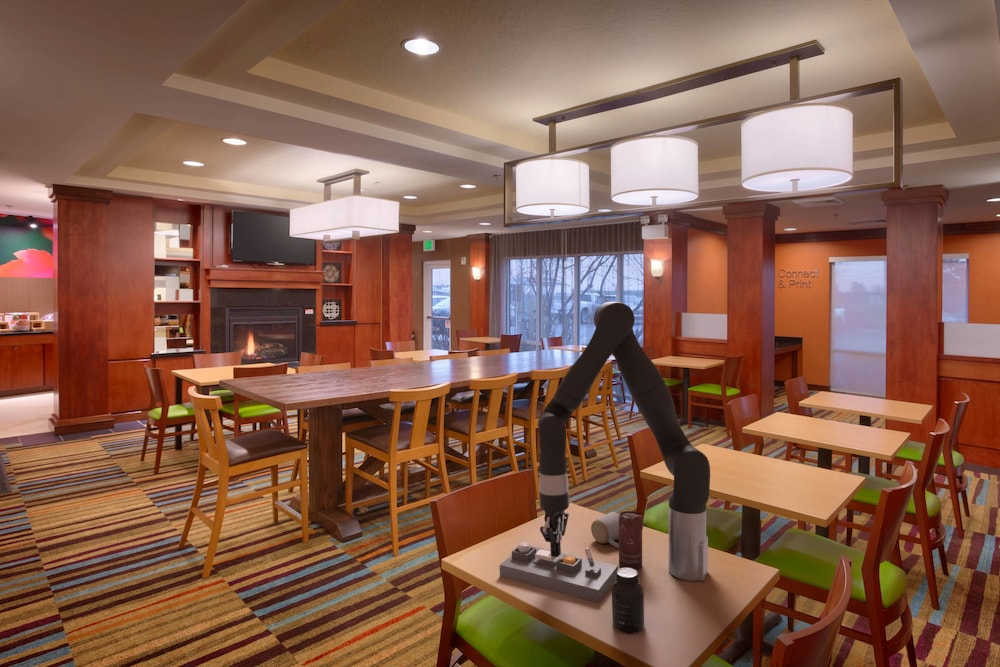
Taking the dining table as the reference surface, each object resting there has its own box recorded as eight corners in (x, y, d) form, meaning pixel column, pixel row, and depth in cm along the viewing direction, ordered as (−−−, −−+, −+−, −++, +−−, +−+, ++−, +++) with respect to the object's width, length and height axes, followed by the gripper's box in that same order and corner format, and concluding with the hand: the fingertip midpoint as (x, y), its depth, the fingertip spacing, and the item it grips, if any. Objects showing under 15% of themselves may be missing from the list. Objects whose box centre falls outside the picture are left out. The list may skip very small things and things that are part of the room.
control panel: (617, 577, 144) (617, 558, 144) (598, 602, 132) (598, 581, 132) (525, 555, 158) (524, 537, 157) (499, 575, 146) (499, 557, 145)
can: (643, 571, 147) (643, 519, 146) (619, 569, 148) (618, 517, 147) (642, 561, 153) (642, 511, 152) (618, 559, 154) (618, 509, 153)
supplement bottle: (621, 613, 127) (620, 561, 126) (649, 624, 123) (649, 570, 122) (606, 627, 122) (606, 573, 121) (635, 638, 117) (635, 582, 117)
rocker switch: (557, 556, 147) (556, 552, 146) (551, 561, 144) (551, 557, 144) (540, 552, 149) (540, 548, 149) (535, 557, 146) (535, 553, 146)
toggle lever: (595, 565, 140) (589, 546, 141) (594, 567, 139) (587, 548, 140) (591, 566, 141) (585, 547, 141) (589, 568, 140) (583, 549, 140)
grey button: (532, 550, 150) (532, 543, 150) (526, 555, 147) (526, 548, 147) (521, 548, 152) (521, 541, 152) (516, 552, 149) (515, 545, 149)
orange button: (577, 564, 144) (577, 557, 144) (572, 569, 141) (572, 562, 141) (565, 561, 145) (565, 555, 145) (560, 566, 143) (560, 559, 142)
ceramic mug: (588, 540, 167) (589, 515, 167) (607, 533, 172) (607, 508, 172) (616, 552, 159) (616, 526, 158) (634, 544, 164) (635, 519, 163)
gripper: (556, 499, 137) (558, 568, 137) (577, 483, 148) (579, 548, 149) (528, 495, 140) (531, 562, 141) (551, 480, 152) (553, 543, 152)
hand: (555, 555), depth 145 cm, fingers closed
